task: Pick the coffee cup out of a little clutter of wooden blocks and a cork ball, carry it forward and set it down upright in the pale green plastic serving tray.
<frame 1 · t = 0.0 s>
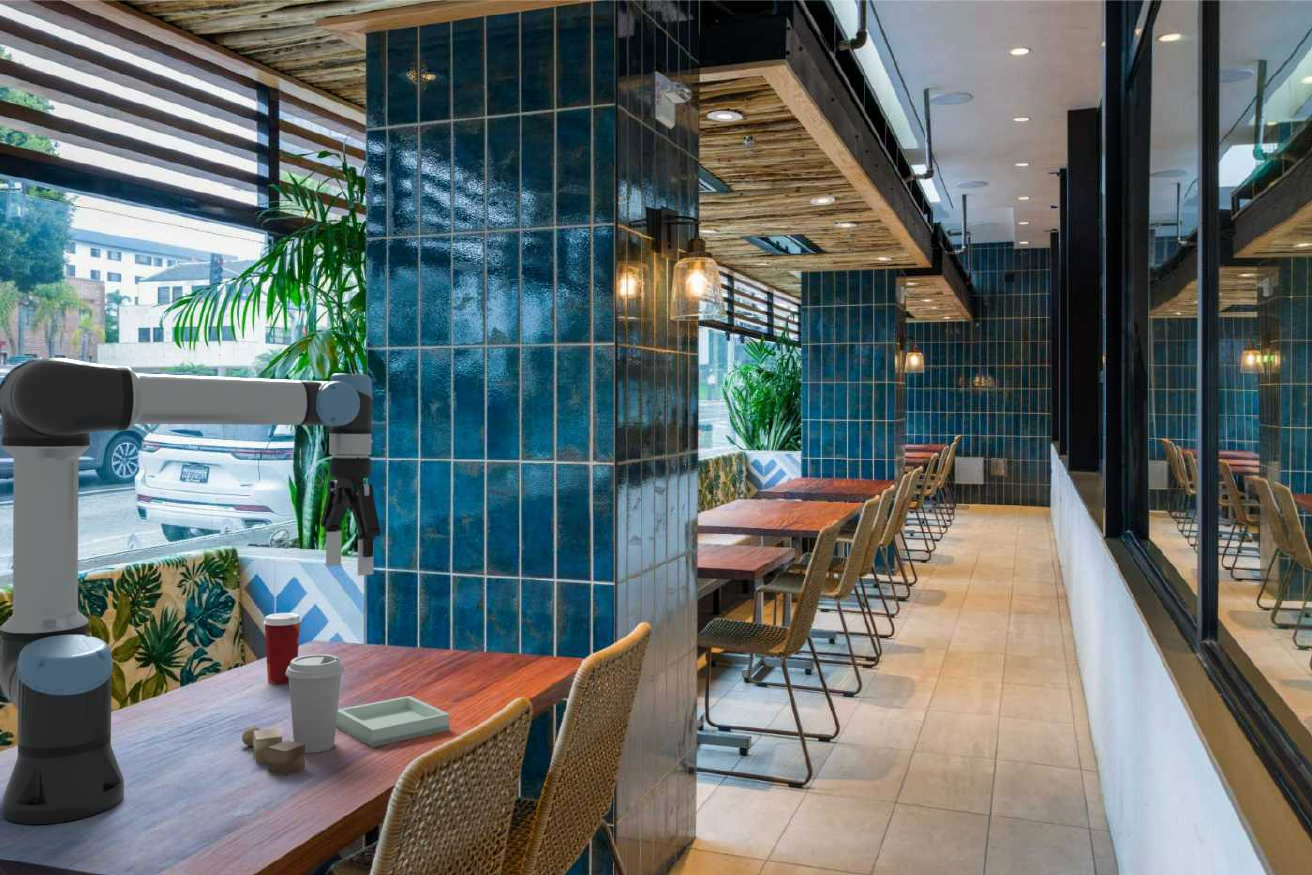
hand: (349, 570, 187), 28 cm above the table, fingers open, 13 cm apart
beech block: (267, 757, 166), on the table
paper cup: (281, 681, 213), on the table
walnut block: (286, 770, 160), on the table
tray: (391, 728, 182), on the table
coffee cup: (314, 747, 172), on the table
cork ball: (252, 745, 171), on the table
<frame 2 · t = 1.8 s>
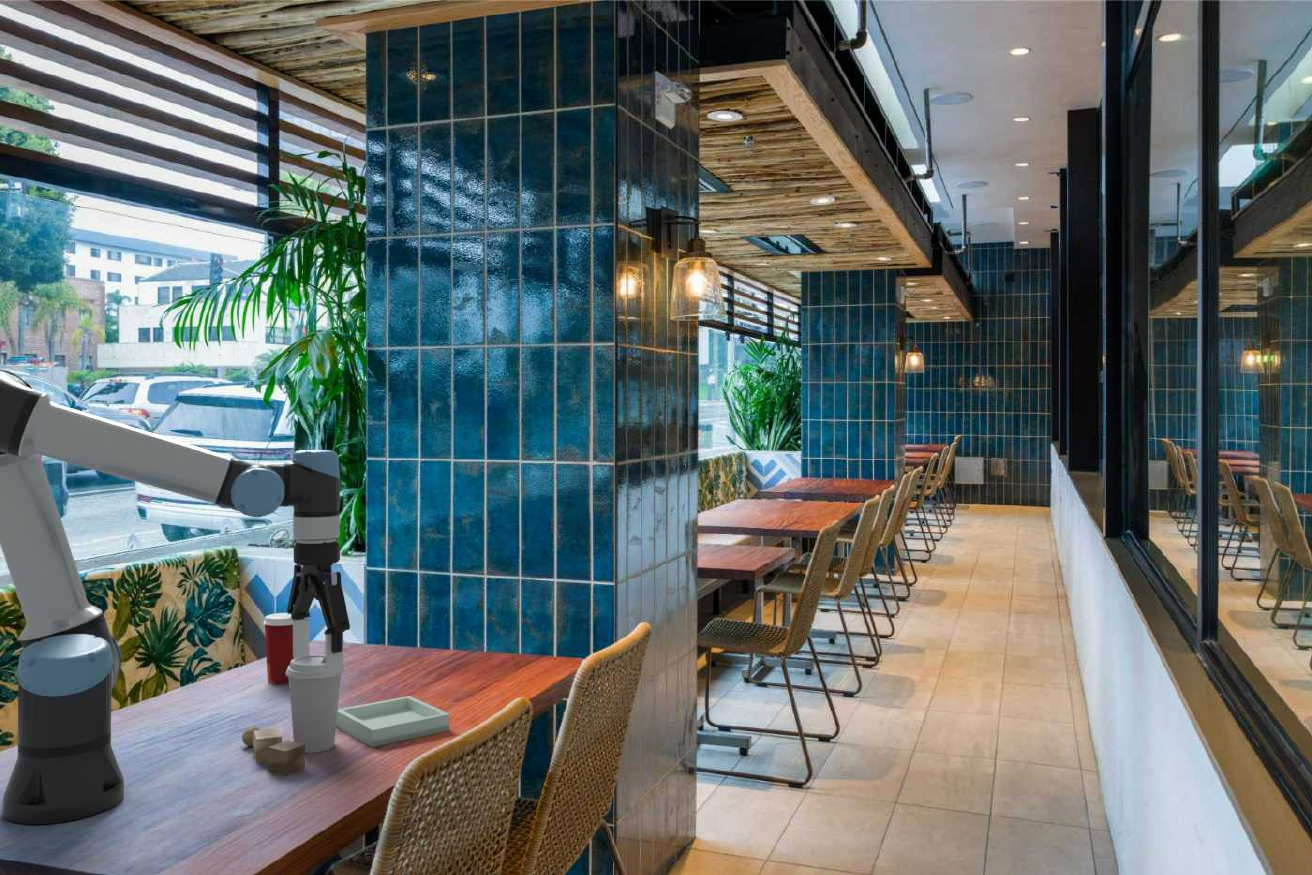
hand: (317, 663, 171), 14 cm above the table, fingers open, 13 cm apart
nothing on the table moved.
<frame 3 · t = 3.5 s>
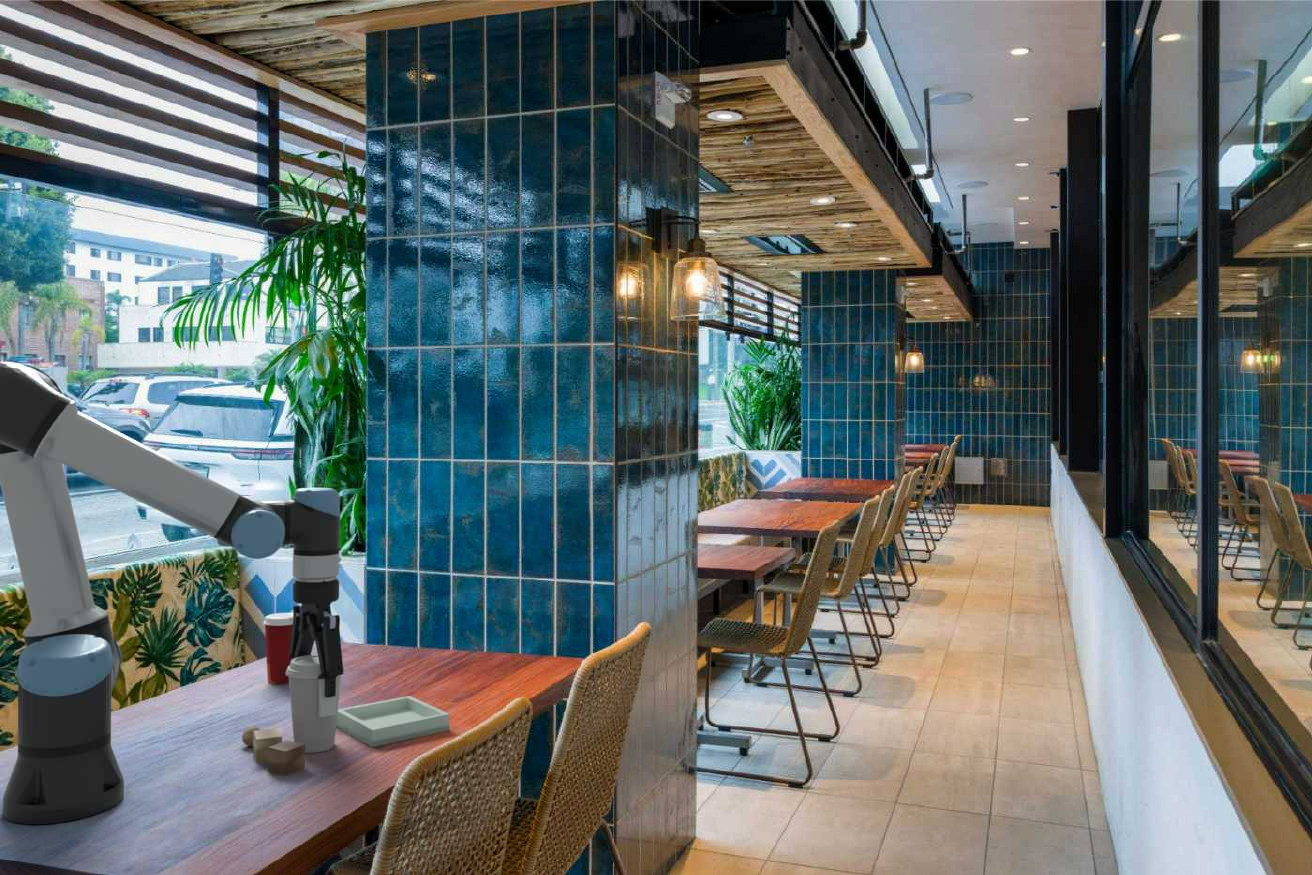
hand: (314, 708, 171), 7 cm above the table, fingers closed on coffee cup, 9 cm apart
coffee cup: (314, 747, 172), on the table, touching gripper
everything else where it was.
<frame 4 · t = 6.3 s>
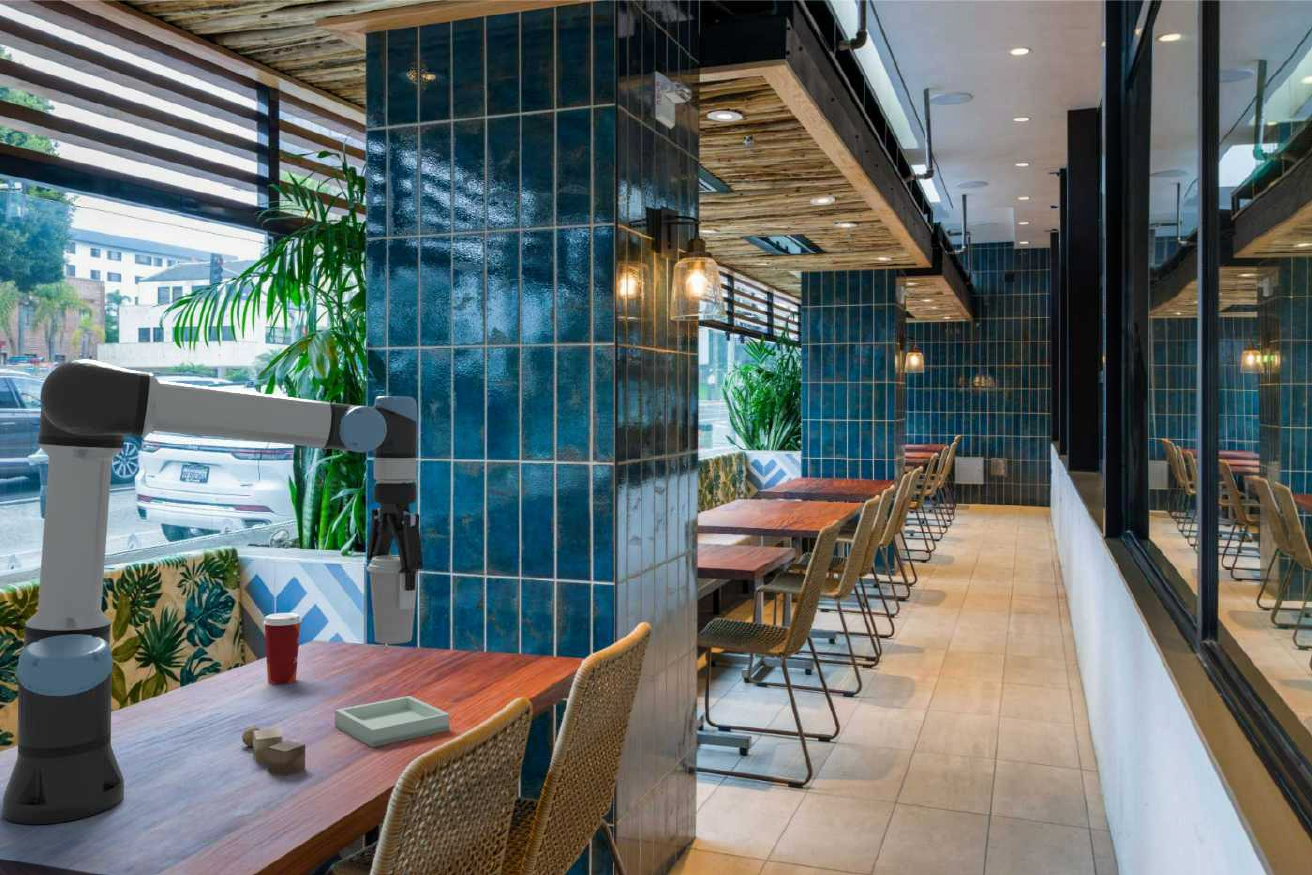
hand: (393, 604, 182), 23 cm above the table, fingers closed on coffee cup, 9 cm apart
coffee cup: (393, 640, 182), point 16 cm above the table, touching gripper
everything else where it was.
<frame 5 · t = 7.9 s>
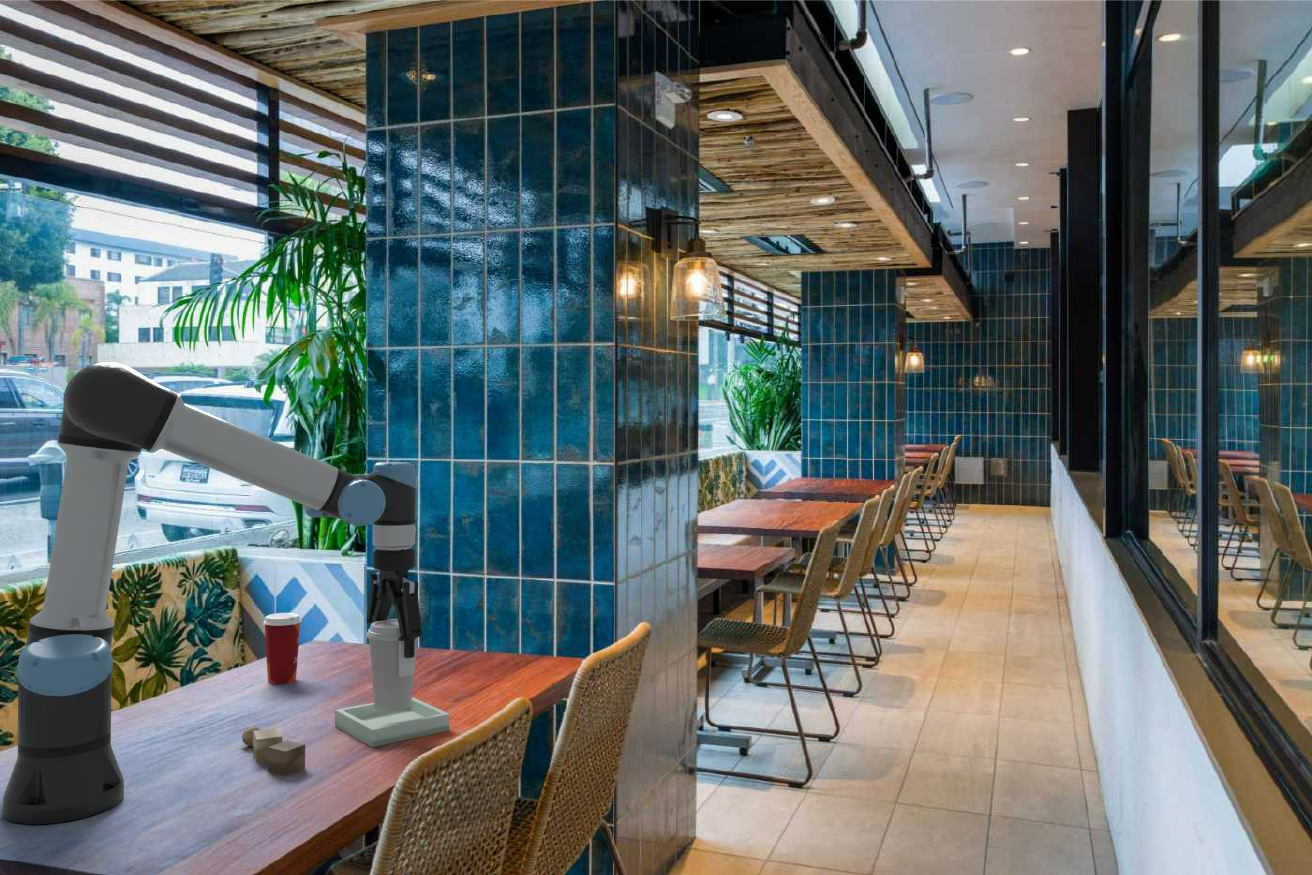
hand: (393, 669, 182), 11 cm above the table, fingers closed on coffee cup, 9 cm apart
coffee cup: (392, 706, 182), point 4 cm above the table, touching gripper
everything else where it was.
when the fingers open (9 cm above the table, at t = 9.1 s): coffee cup drops 2 cm, resting on tray.
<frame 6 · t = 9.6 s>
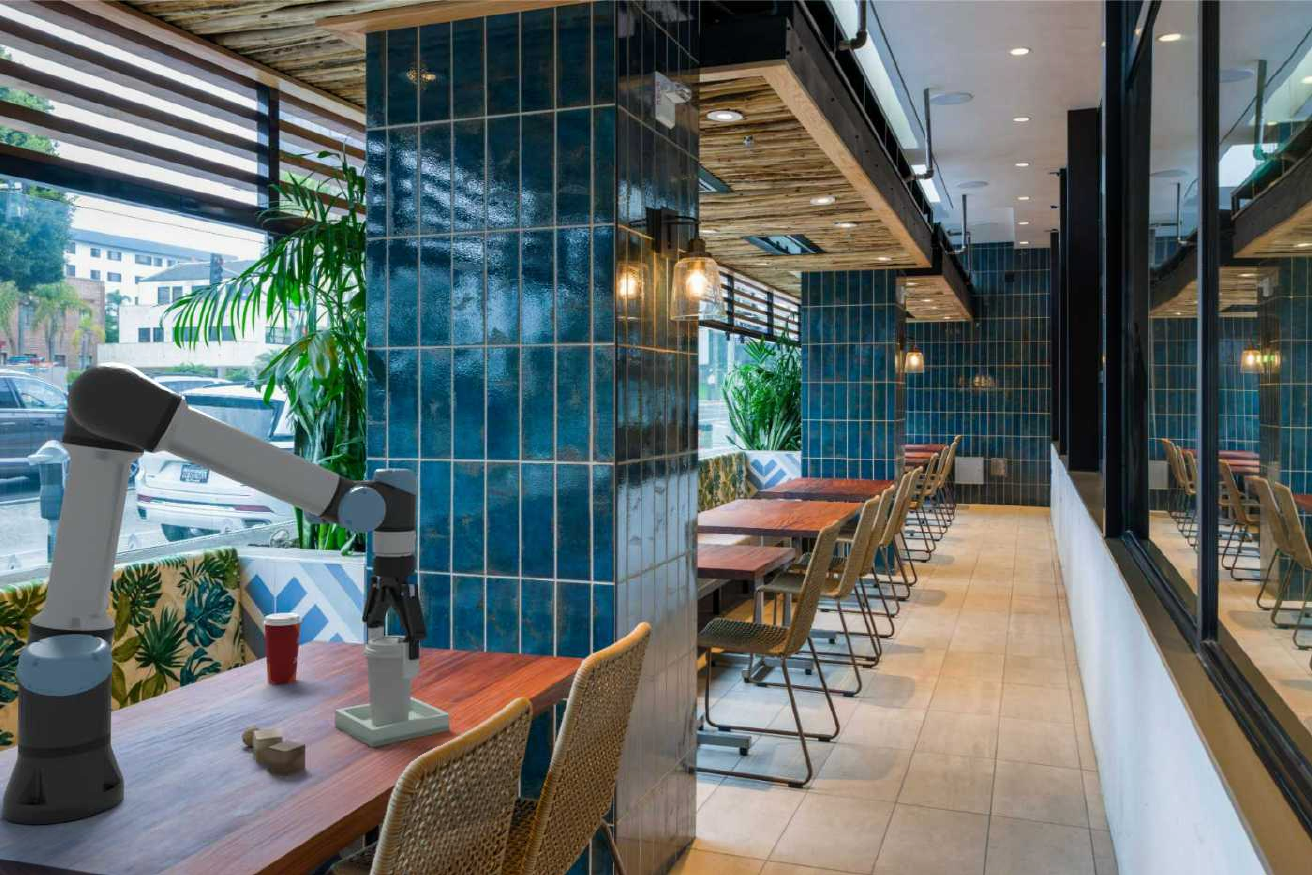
hand: (392, 669, 182), 11 cm above the table, fingers open, 13 cm apart
coffee cup: (390, 722, 183), point 1 cm above the table, touching tray
everything else where it was.
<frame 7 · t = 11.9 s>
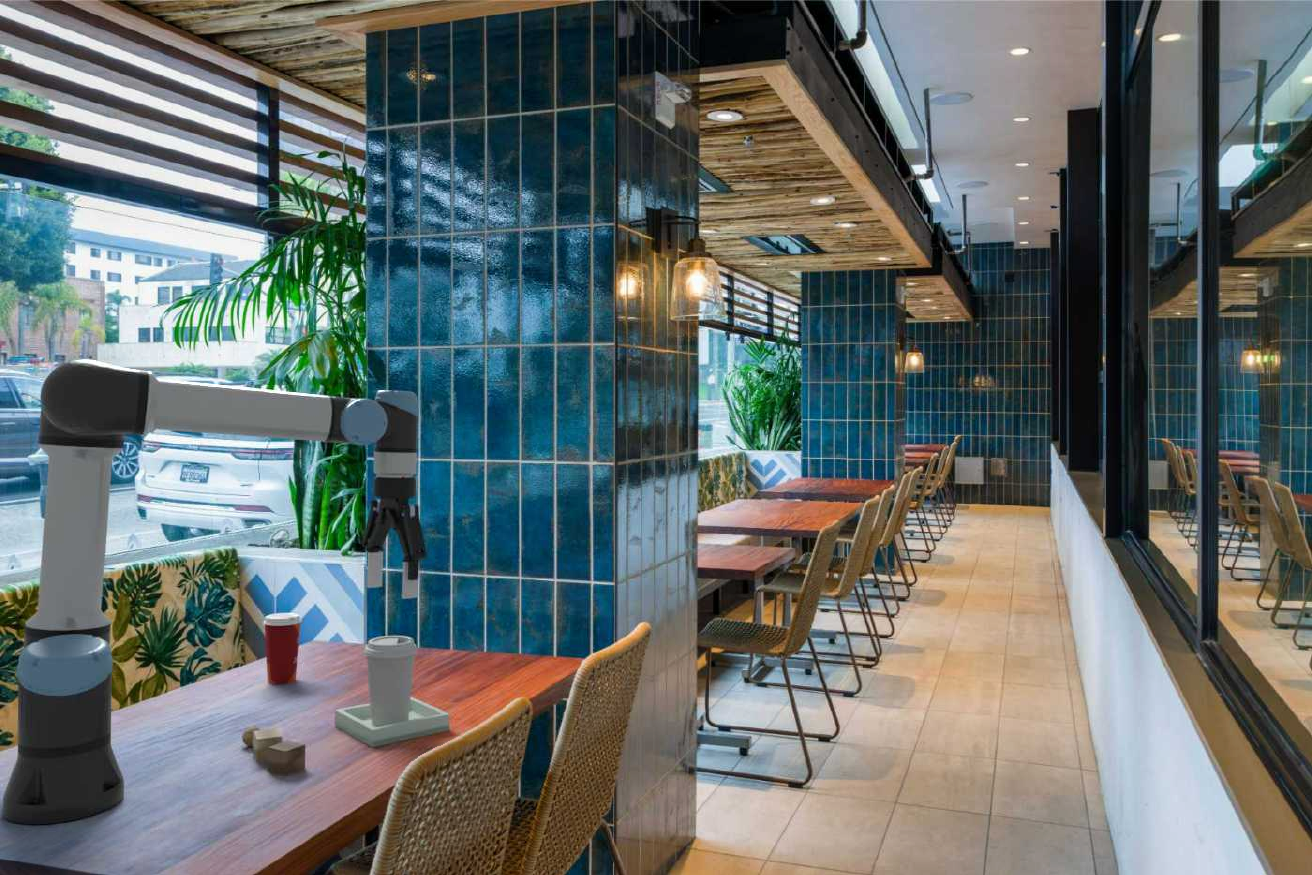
hand: (391, 592, 182), 25 cm above the table, fingers open, 13 cm apart
nothing on the table moved.
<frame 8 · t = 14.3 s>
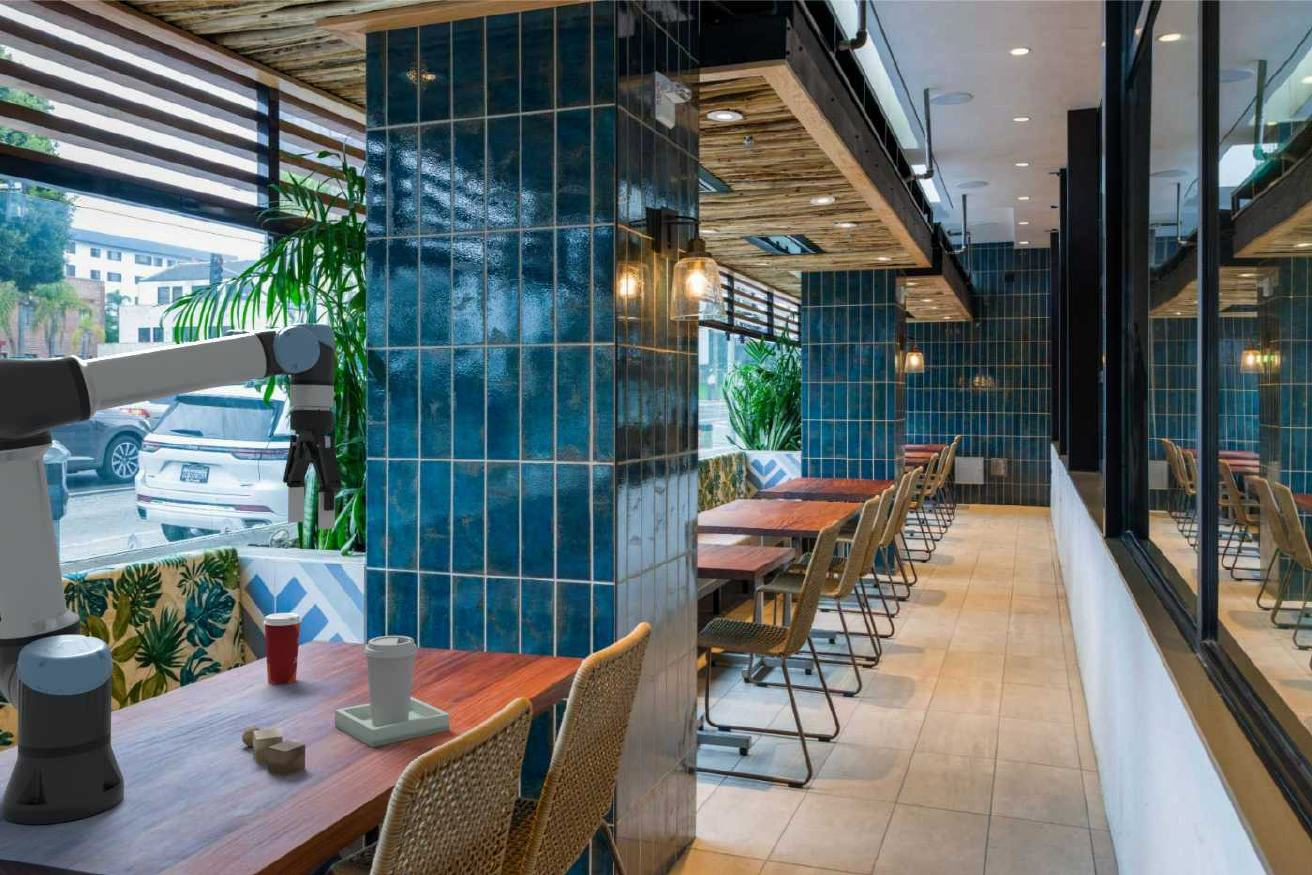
hand: (310, 525, 182), 37 cm above the table, fingers open, 13 cm apart
nothing on the table moved.
at the end: coffee cup inside the target area on the tray (0.7 cm from its centre), point 0.8 cm above the tray's base; coffee cup tilted 0°; the gripper is holding nothing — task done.
